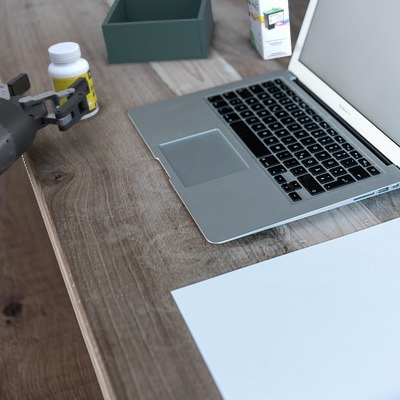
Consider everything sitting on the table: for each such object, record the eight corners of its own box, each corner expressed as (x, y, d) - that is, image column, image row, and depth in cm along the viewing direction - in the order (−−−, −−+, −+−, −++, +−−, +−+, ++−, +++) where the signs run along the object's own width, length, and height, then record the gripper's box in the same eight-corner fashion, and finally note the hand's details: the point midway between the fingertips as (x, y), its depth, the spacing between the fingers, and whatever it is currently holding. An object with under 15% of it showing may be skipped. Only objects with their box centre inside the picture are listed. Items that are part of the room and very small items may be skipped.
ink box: (249, 42, 119) (242, -29, 113) (278, 37, 121) (272, -33, 114) (263, 61, 113) (256, -13, 106) (293, 56, 114) (288, -18, 107)
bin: (109, 65, 114) (101, 25, 110) (126, 28, 126) (118, -8, 123) (207, 59, 114) (202, 19, 110) (213, 23, 127) (209, -13, 123)
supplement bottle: (105, 114, 100) (89, 48, 94) (67, 126, 97) (49, 59, 92) (91, 100, 103) (76, 36, 98) (55, 111, 101) (36, 46, 95)
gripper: (31, 118, 77) (99, 57, 90) (-83, 109, 80) (-1, 52, 93) (49, 176, 82) (111, 110, 95) (-60, 166, 84) (15, 103, 97)
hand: (55, 81), depth 94 cm, fingers open, 8 cm apart
